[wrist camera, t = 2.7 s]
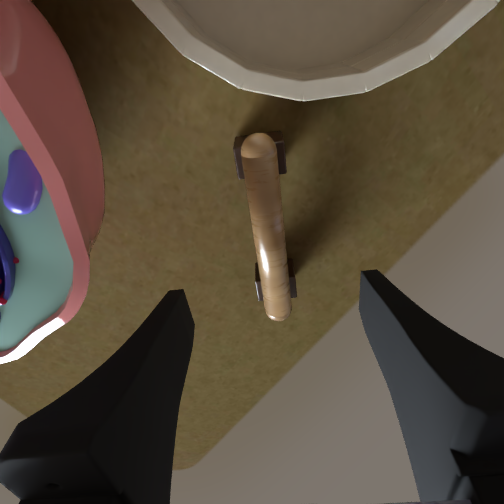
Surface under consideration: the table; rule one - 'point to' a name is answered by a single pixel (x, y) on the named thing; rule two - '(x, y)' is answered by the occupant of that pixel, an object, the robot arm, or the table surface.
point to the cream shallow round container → (312, 40)
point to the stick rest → (280, 148)
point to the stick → (267, 222)
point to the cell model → (43, 181)
